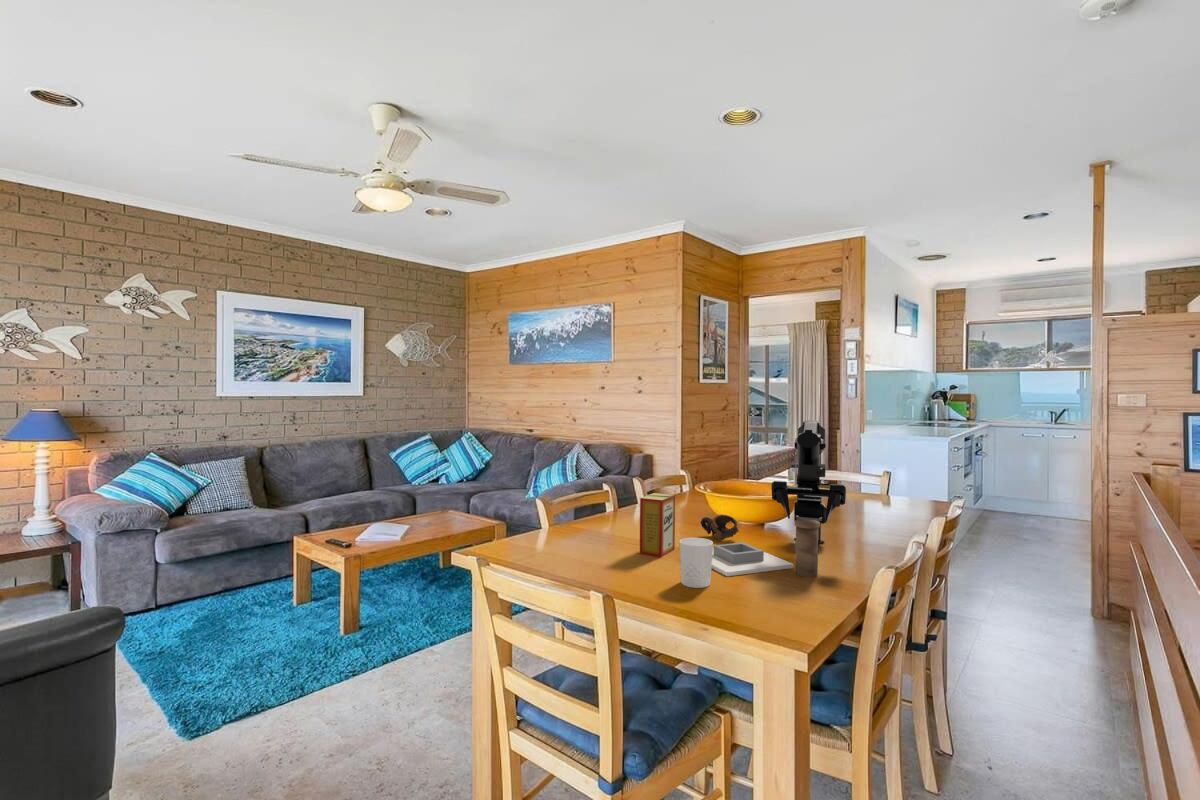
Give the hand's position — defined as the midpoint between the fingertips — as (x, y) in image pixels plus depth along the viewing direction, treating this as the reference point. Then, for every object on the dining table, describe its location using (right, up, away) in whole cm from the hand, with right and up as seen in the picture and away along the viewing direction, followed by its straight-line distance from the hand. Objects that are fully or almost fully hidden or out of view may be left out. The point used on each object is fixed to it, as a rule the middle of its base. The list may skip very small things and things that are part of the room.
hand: (807, 519), depth 156 cm
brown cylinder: (-2, -12, -6) cm, 14 cm away
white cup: (-31, -13, -14) cm, 36 cm away
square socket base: (-17, -12, +5) cm, 21 cm away
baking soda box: (-38, -12, +14) cm, 42 cm away
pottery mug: (-17, -12, +30) cm, 36 cm away
